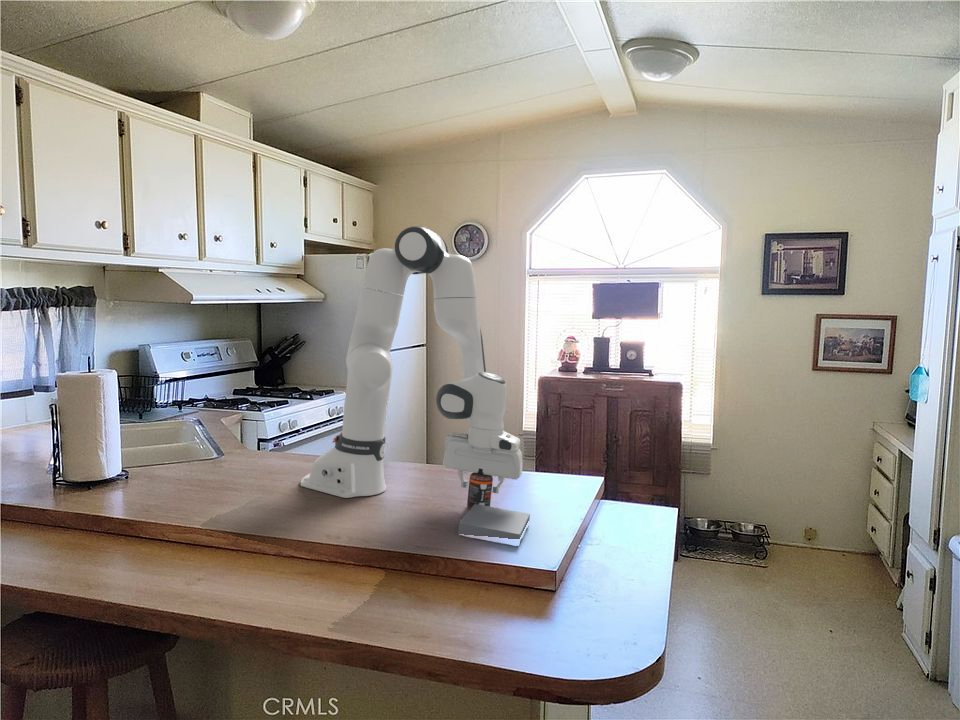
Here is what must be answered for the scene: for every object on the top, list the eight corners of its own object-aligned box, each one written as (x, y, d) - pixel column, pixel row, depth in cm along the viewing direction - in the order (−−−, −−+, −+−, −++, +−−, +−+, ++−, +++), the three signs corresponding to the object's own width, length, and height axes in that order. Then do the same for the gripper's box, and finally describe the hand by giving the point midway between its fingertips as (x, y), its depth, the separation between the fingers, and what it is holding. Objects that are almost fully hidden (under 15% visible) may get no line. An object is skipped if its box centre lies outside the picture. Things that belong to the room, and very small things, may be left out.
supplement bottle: (487, 515, 161) (491, 471, 159) (464, 511, 162) (468, 467, 160) (491, 507, 166) (496, 465, 165) (469, 503, 168) (473, 461, 166)
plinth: (458, 535, 146) (459, 523, 145) (473, 515, 159) (474, 503, 159) (518, 547, 143) (519, 534, 142) (528, 525, 156) (530, 513, 156)
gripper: (442, 433, 161) (437, 486, 163) (522, 446, 157) (516, 500, 158) (449, 428, 167) (444, 479, 169) (526, 440, 163) (520, 492, 164)
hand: (480, 489), depth 163 cm, fingers open, 7 cm apart
